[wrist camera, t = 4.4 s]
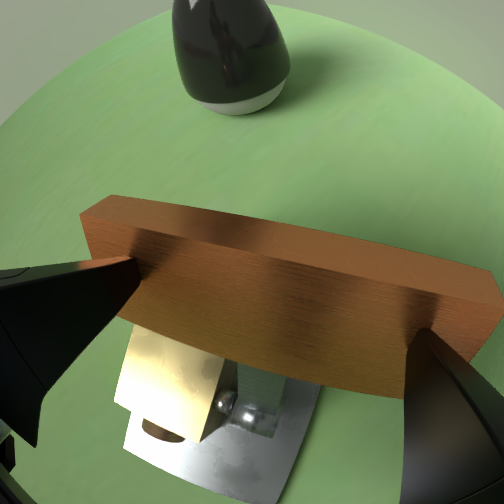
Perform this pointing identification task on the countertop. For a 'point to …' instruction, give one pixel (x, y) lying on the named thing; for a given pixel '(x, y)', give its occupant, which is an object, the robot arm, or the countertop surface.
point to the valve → (206, 419)
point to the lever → (288, 299)
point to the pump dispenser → (229, 53)
